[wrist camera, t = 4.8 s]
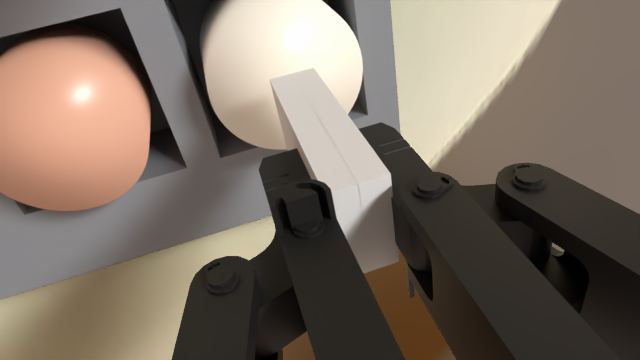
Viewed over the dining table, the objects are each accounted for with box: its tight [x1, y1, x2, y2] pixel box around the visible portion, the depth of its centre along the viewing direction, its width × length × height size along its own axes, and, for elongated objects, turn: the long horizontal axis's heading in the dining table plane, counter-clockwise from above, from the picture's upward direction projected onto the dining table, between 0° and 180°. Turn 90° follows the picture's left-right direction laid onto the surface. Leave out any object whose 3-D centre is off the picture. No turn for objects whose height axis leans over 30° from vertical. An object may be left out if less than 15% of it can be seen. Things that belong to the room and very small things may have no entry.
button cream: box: [200, 0, 363, 150], centre depth 19 cm, size 6×6×4 cm
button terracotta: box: [0, 24, 152, 211], centre depth 18 cm, size 6×6×4 cm
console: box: [0, 0, 400, 300], centre depth 20 cm, size 15×27×5 cm, turn 100°
